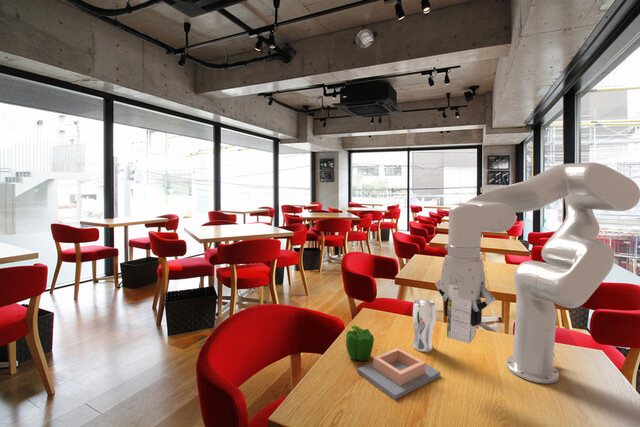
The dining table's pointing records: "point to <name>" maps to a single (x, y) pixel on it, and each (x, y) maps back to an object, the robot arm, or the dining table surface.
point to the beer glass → (423, 324)
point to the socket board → (398, 372)
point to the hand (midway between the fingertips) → (462, 319)
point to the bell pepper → (359, 343)
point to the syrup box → (459, 317)
